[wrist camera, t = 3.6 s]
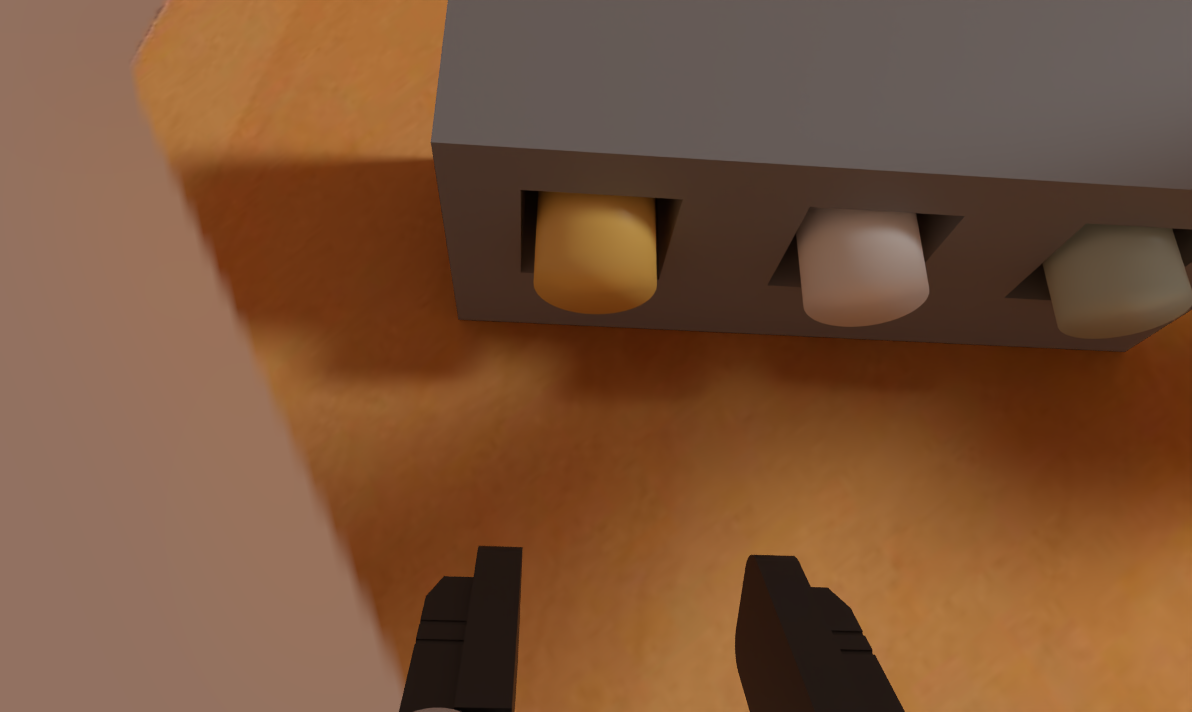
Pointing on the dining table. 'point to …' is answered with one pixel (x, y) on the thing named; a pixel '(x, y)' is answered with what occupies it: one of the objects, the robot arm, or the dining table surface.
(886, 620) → the dining table surface
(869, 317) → the cream button
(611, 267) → the amber button
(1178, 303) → the sage button
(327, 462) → the dining table surface
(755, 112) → the console
